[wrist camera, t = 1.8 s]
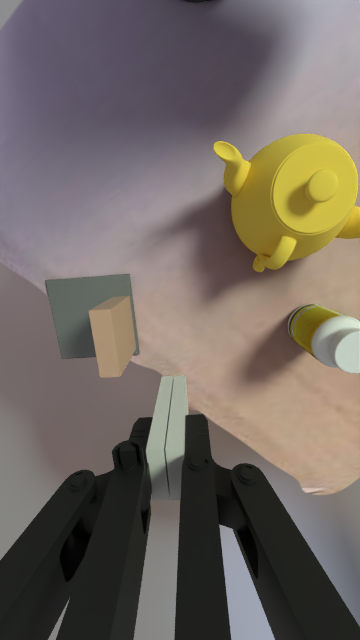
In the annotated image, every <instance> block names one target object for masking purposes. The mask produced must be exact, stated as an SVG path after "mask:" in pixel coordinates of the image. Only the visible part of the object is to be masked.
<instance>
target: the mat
mask: <svg viewBox="0 0 360 640" xmlns="http://www.w3.org/2000/svg"><path fill="white" fill-rule="evenodd" d="M46 286H47V290H48V295H49V300H50V305H51V309H52V314H53V319H54V323H55V328H56V333H57V338H58V342H59V347H60V352H61V356H62V359H69V358H86V357H96V352H95V346H94V341H93V335H92V329H91V323H90V318H89V310H91V309H92V308H94V307H96V306H98V305H99V304H101V303H103V302H105V301H106V300H108V299H110V298H112V297H118V296H130V304H131V311H132V319H133V327H134V334H135V342H136V350H135V352H134V353H133V355H137V354H139V345H138V337H137V329H136V321H135V313H134V305H133V298H132V290H131V282H130V274H122V275H109V276H96V277H83V278H70V279H57V280H46Z"/></svg>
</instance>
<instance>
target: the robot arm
mask: <svg viewBox="0 0 360 640" xmlns="http://www.w3.org/2000/svg"><path fill="white" fill-rule="evenodd" d="M186 1H192V2H202V1H209V0H186ZM112 455H113V461H114V467H115V468H114V469H113V470H112V471H110V472H108V473H105V474H102V475H99V476H95V475H94V473H93V472H92V471H89V470H81V471H78V472H75V473H73V474H72V475H70V476H69V477H68V478H67V479H66V480H65V481H64V482H63V483H62V485H61V486H60V487H59V489H58V490H57V491H56V492H55V493H54V495H53V496H52V497H51V498H50V500H49V501H48V502H47V503H46V504H45V506H44V507H43V508H42V509H41V511H40V512H39V513H38V514H37V516H36V517H35V518H34V519H33V521H32V522H31V523H30V524H29V526H28V527H27V528H26V530H25V531H24V532H23V533H22V534H21V536H20V537H19V538H18V539H17V541H16V542H15V543H14V544H13V545H12V547H11V548H10V549H9V550H8V552H7V553H6V554H5V555H4V557H3V558H2V559H1V560H0V640H48V638H49V636H50V634H51V632H52V631H53V629H54V627H55V625H56V623H57V621H58V619H59V617H60V615H61V613H62V611H63V609H64V607H65V606H66V604H67V601H68V600H69V598H70V600H69V603H68V605H67V608H66V612H65V614H64V617H63V620H62V623H61V626H60V629H59V632H58V635H57V638H56V640H133V638H134V630H135V624H136V617H137V609H138V603H139V595H140V588H141V581H142V574H143V567H144V560H145V552H146V545H147V538H148V531H149V524H150V517H151V506H150V499H151V493H152V500H153V501H158V500H169V498H170V497H171V500H181V501H180V523H179V525H180V526H179V546H178V547H179V548H178V570H177V593H176V617H175V640H231V634H230V625H229V614H228V606H227V596H226V586H225V576H224V568H223V567H224V566H223V557H222V548H221V538H220V528H219V524H220V525H223V526H226V527H229V528H232V529H233V531H234V534H235V537H236V539H237V542H238V544H239V547H240V550H241V552H242V555H243V557H244V560H245V563H246V565H247V568H248V570H249V573H250V575H251V578H252V580H253V583H254V586H255V588H256V591H257V594H258V596H259V599H260V601H261V604H262V607H263V609H264V612H265V614H266V617H267V620H268V622H269V625H270V627H271V630H272V633H273V635H274V638H275V640H360V627H359V625H358V624H357V622H356V620H355V619H354V617H353V616H352V614H351V613H350V611H349V609H348V608H347V606H346V605H345V603H344V601H343V600H342V598H341V596H340V595H339V593H338V592H337V590H336V589H335V587H334V585H333V584H332V582H331V581H330V579H329V577H328V576H327V574H326V573H325V571H324V570H323V568H322V566H321V565H320V563H319V561H318V560H317V558H316V557H315V555H314V553H313V552H312V551H311V549H310V547H309V546H308V544H307V542H306V541H305V539H304V538H303V536H302V534H301V533H300V531H299V530H298V528H297V526H296V525H295V523H294V522H293V520H292V519H291V517H290V515H289V514H288V512H287V511H286V509H285V507H284V506H283V504H282V503H281V501H280V499H279V498H278V496H277V495H276V493H275V491H274V490H273V488H272V487H271V485H270V483H269V482H268V480H267V479H266V477H265V476H264V474H263V472H261V470H260V469H259V468H257V467H256V466H254V465H251V464H247V463H244V464H239V465H237V466H235V467H234V468H233V469H232V470H230V469H226V468H223V467H221V466H219V465H217V464H216V463H215V462H214V460H213V459H212V456H211V448H210V440H209V430H208V421H207V419H206V418H205V416H204V415H203V414H199V415H188V402H187V389H186V377H185V375H183V376H174V379H173V376H164V377H162V379H161V384H160V389H159V393H158V397H157V402H156V406H155V411H154V415H153V417H146V418H139V419H138V420H137V421H136V422H135V423H134V425H133V428H132V432H131V434H130V438H129V440H127V441H123V442H121V443H119V444H118V445H117V446H115V447H114V449H113V451H112ZM70 596H71V597H70Z"/></svg>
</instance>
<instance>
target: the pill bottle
mask: <svg viewBox="0 0 360 640" xmlns="http://www.w3.org/2000/svg"><path fill="white" fill-rule="evenodd" d="M288 332H289V335H290V336H291V338H292V339H293V340H294V341H295V342H296V343H298V344H299V345H300V346H301V347H302V348H304V349H305V350H306V351H307V352H309V353H310V354H311V355H312V356H313V357H315V358H316V359H317V360H318V361H320V362H321V363H323V364H325V365H327V366H330V367H335V368H340V369H341V370H343V371H345V372H348V373H360V321H359V320H357V319H355V318H353V317H350V316H348V315H345V314H343V313H340V312H338V311H335V310H332V309H330V308H327V307H325V306H322V305H319V304H305V305H302V306H300V307H299V308H297V309H296V310H295V311H294V312H293V313H292V315H291V316H290V318H289V321H288Z"/></svg>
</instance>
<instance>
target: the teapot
mask: <svg viewBox="0 0 360 640" xmlns="http://www.w3.org/2000/svg"><path fill="white" fill-rule="evenodd" d="M213 149H214V151H215V153H216V154H217V155H218V156H219V157H220V158H221V159H222V160H223V161H224V162H225V163H226V168H225V172H224V185H225V187H226V189H227V190H228V192H229V193H230V194H231V195H232V203H231V213H232V220H233V224H234V227H235V230H236V232H237V234H238V236H239V238H240V239H241V241H242V242H243V243H244V244H245V246H246V247H248V248H249V249H250V250H251V251H252V252H254V253H255V254H257V256H256V258H255V260H254V263H253V269H254V270H255V271H257V272H263V271H264V269H265V267H267V268H269V269H272V270H276V269H279V268H281V267H282V266H283V265H284V264H285V263H286V261H290V260H296V259H300V258H303V257H306V256H309V255H311V254H313V253H315V252H317V251H318V250H320V249H321V248H323V247H324V246H326V245H327V244H328V243H329V242H331V241H332V240H333V239H334V238H335V237H336V238H344V239H354V238H360V207H357V206H355V202H356V198H357V192H358V175H357V170H356V167H355V164H354V162H353V160H352V158H351V157H350V155H349V154H348V153H347V152H346V151H345V150H344V149H343V148H342V147H341V146H340V145H339V144H337V143H336V142H334V141H332V140H330V139H328V138H326V137H323V136H320V135H315V134H296V135H291V136H287V137H284V138H281V139H279V140H277V141H274V142H272V143H271V144H269V145H267V146H266V147H264V148H263V149H262V150H260V151H259V152H258V153H257V154H256V155H255V156H254V157H253V158H252V159H251V160H250V161H249V162H248V161H246V160H244V159H242V155H241V154H240V152H239V151H238V150H237V149H236V148H235V147H234V146H233V145H231V144H229V143H226V142H223V141H218V142H216V143H214V145H213Z"/></svg>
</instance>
